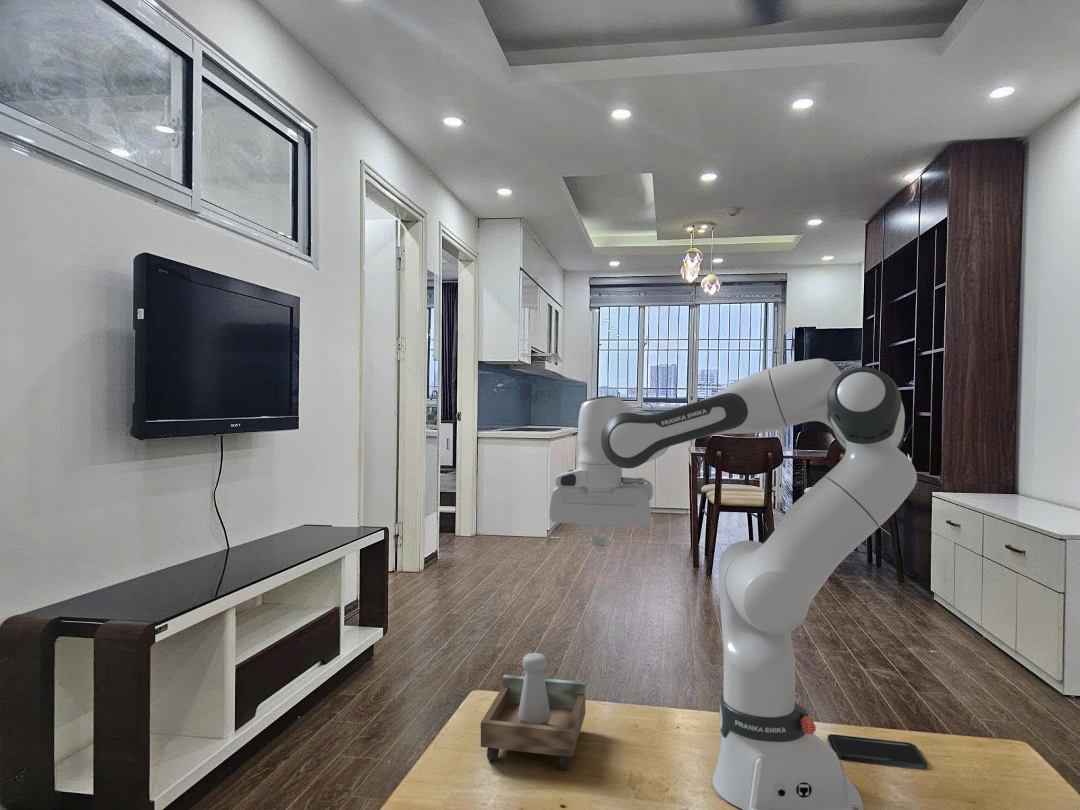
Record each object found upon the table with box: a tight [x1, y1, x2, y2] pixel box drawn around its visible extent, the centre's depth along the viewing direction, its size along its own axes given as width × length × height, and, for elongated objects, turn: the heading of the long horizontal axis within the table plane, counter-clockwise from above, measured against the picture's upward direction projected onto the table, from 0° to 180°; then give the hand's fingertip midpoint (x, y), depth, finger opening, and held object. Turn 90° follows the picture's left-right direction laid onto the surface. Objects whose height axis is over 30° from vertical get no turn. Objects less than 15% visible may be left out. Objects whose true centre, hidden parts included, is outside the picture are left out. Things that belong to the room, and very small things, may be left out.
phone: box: [827, 733, 928, 770], centre depth 120 cm, size 8×1×15 cm
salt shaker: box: [518, 652, 551, 726], centre depth 119 cm, size 6×6×13 cm
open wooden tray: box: [480, 674, 587, 770], centre depth 121 cm, size 16×16×9 cm
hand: (599, 546), depth 133 cm, fingers closed
